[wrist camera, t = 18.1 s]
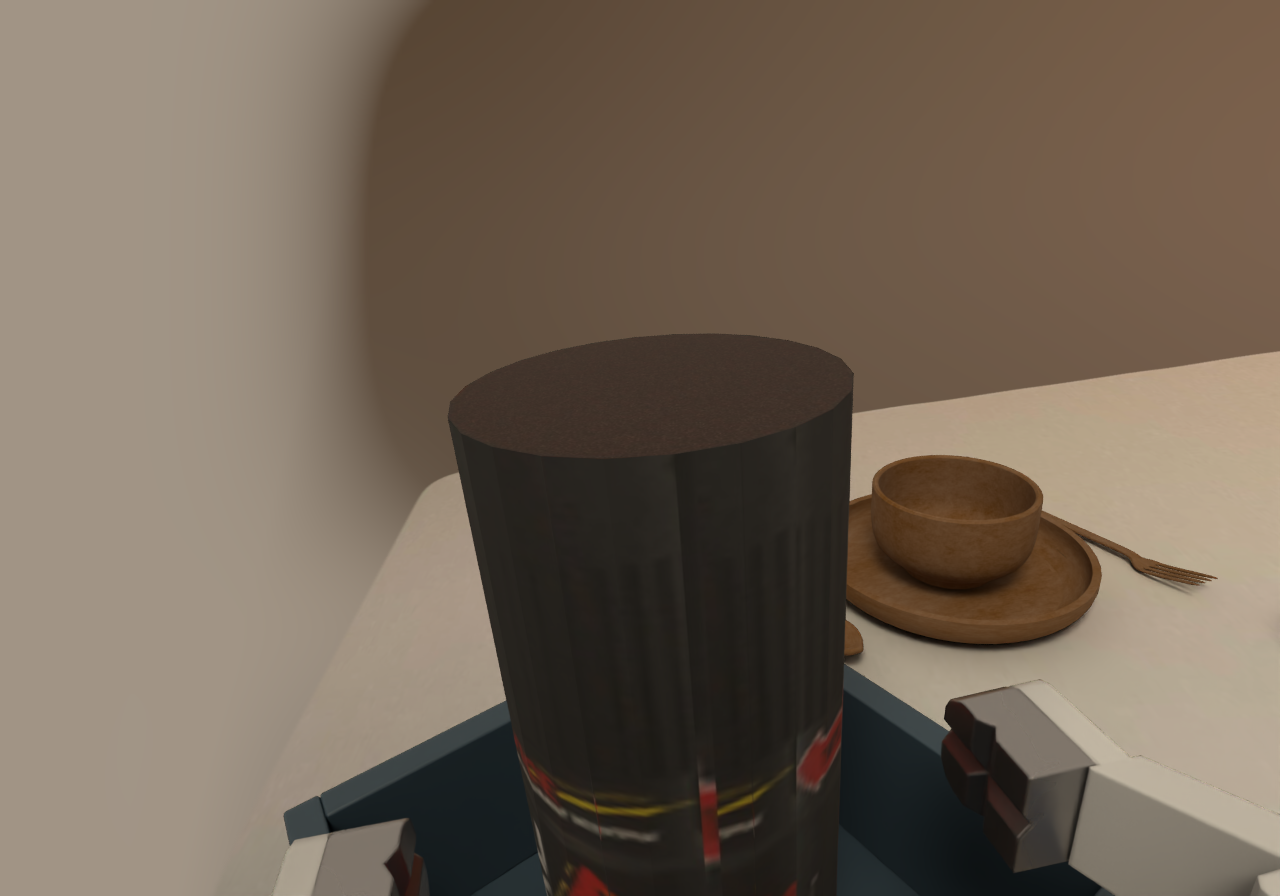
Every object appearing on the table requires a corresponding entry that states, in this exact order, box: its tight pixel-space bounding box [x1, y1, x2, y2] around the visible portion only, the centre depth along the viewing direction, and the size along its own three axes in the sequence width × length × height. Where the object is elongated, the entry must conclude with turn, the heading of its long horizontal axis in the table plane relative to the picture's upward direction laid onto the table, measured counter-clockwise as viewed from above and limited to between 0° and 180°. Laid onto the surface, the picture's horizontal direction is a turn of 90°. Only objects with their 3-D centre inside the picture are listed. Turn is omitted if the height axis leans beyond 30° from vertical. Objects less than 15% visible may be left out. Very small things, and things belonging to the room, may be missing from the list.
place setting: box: [844, 455, 1218, 656], centre depth 27 cm, size 18×20×6 cm
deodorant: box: [448, 334, 854, 896], centre depth 13 cm, size 6×6×15 cm
